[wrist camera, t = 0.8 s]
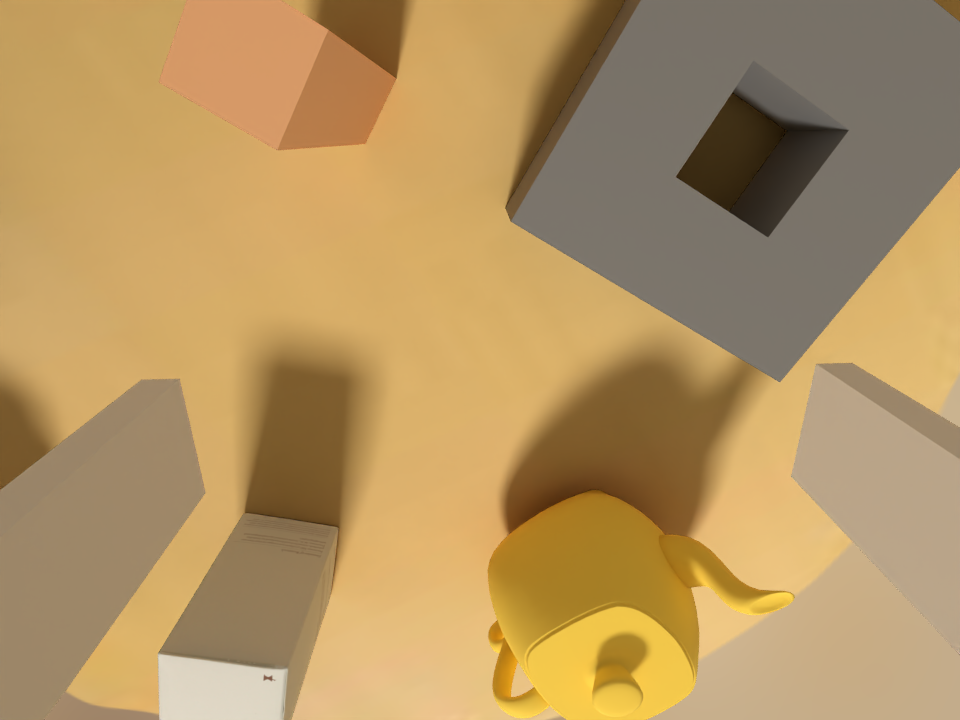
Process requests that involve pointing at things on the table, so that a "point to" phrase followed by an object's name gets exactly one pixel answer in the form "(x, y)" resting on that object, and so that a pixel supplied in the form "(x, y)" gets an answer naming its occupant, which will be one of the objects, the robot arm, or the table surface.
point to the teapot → (603, 611)
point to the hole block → (782, 178)
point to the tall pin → (275, 74)
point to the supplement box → (250, 624)
